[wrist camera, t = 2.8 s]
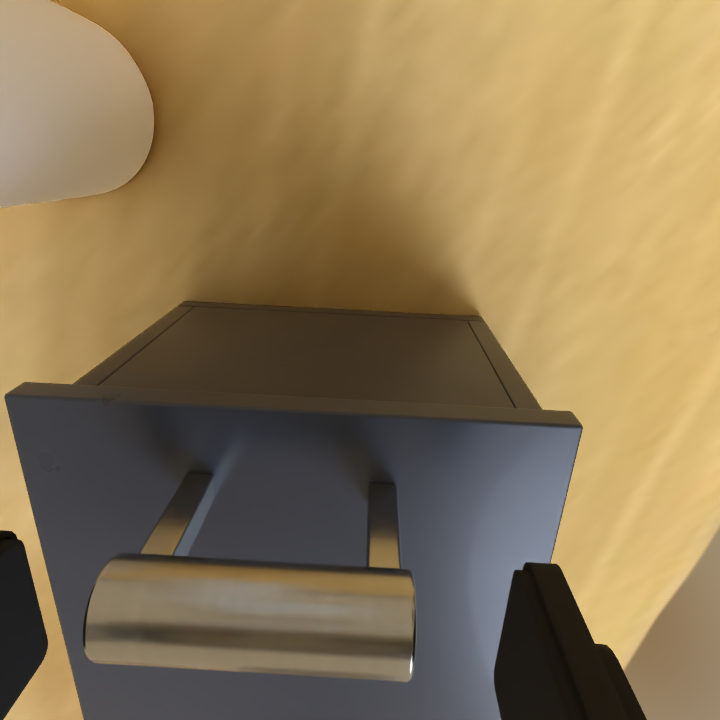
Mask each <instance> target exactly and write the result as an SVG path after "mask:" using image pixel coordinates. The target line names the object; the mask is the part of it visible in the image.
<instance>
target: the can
mask: <svg viewBox="0 0 720 720" xmlns="http://www.w3.org/2000/svg"><path fill="white" fill-rule="evenodd" d="M153 132H154V109H153V102H152V98H151V95H150V92H149V89H148V86H147V84H146V82H145V79H144V77H143V75H142V73H141V71H140V70H139V68H138V66H137V65H136V63H135V61H134V60H133V58H132V57H131V56H130V54H129V53H128V51H127V50H126V49H125V48H124V46H123V45H122V44H121V43H120V42H119V41H118V40H117V39H116V38H115V37H114V36H112V35H111V34H110V33H109V32H107V31H106V30H105V29H103V28H102V27H100V26H99V25H97V24H96V23H94V22H92V21H90V20H88V19H86V18H85V17H83V16H81V15H79V14H77V13H75V12H73V11H71V10H69V9H67V8H65V7H63V6H60V5H58V4H56V3H54V2H52V1H50V0H0V208H6V207H13V206H21V205H28V204H35V203H43V202H50V201H58V200H65V199H72V198H79V197H86V196H92V195H98V194H103V193H106V192H110V191H112V190H115V189H117V188H119V187H121V186H122V185H124V184H126V183H127V182H128V181H129V180H131V179H132V178H133V177H134V176H135V175H136V174H137V172H138V171H139V170H140V168H141V167H142V165H143V164H144V162H145V160H146V158H147V156H148V153H149V151H150V147H151V144H152V139H153Z"/></svg>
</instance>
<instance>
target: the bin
mask: <svg viewBox="0 0 720 720" xmlns="http://www.w3.org/2000/svg"><path fill="white" fill-rule="evenodd" d="M72 385H90V386H109V387H127V388H146V389H164V390H183V391H202V392H220V393H239V394H257V395H276V396H294V397H313V398H331V399H350V400H369V401H387V402H406V403H424V404H443V405H461V406H480V407H499V408H517V409H536V410H542V408H541V407H540V405H539V404H538V402H537V401H536V399H535V398H534V396H533V394H532V393H531V391H530V390H529V388H528V387H527V385H526V384H525V382H524V381H523V379H522V378H521V376H520V375H519V373H518V372H517V370H516V368H515V367H514V365H513V364H512V362H511V361H510V359H509V358H508V356H507V355H506V353H505V352H504V350H503V349H502V347H501V346H500V344H499V343H498V341H497V339H496V338H495V336H494V335H493V333H492V332H491V330H490V329H489V327H488V326H487V324H486V323H485V322H484V320H483V318H482V317H480V316H462V315H442V314H423V313H403V312H384V311H365V310H345V309H326V308H306V307H287V306H268V305H248V304H229V303H209V302H190V301H184V302H182V303H181V304H180V305H178V306H177V307H176V308H174V309H173V310H172V311H170V312H169V313H168V314H166V315H165V316H163V317H162V318H161V319H159V320H158V321H157V322H155V323H154V324H153V325H151V326H150V327H149V328H147V329H146V330H145V331H143V332H142V333H141V334H139V335H138V336H137V337H135V338H134V339H133V340H131V341H130V342H129V343H127V344H126V345H124V346H123V347H122V348H120V349H119V350H118V351H116V352H115V353H114V354H112V355H111V356H110V357H108V358H107V359H106V360H104V361H103V362H102V363H100V364H99V365H98V366H96V367H95V368H94V369H92V370H91V371H90V372H88V373H87V374H86V375H84V376H83V377H81V378H80V379H79V380H77V381H76V382H75V383H73V384H72Z"/></svg>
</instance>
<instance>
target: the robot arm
mask: <svg viewBox="0 0 720 720" xmlns="http://www.w3.org/2000/svg"><path fill="white" fill-rule="evenodd" d="M47 647H48V639H47V635H46V631H45V627H44V623H43V619H42V615H41V611H40V607H39V603H38V599H37V595H36V591H35V587H34V583H33V579H32V575H31V571H30V567H29V563H28V559H27V555H26V551H25V547H24V544H23V542H22V541H21V540H18V539H17V537H16V534H14V533H13V532H12V531H0V720H3V719H4V718H5V716H6V715H7V713H8V712H9V710H10V709H11V707H12V706H13V704H14V703H15V701H16V700H17V698H18V697H19V696H20V694H21V693H22V691H23V690H24V688H25V687H26V685H27V684H28V682H29V681H30V679H31V678H32V676H33V675H34V673H35V672H36V670H37V669H38V667H39V666H40V665H41V663H42V661H43V659H44V657H45V655H46V652H47ZM494 687H495V693H496V698H497V702H498V707H499V711H500V716H501V720H647V719H646V717H645V715H644V713H643V711H642V709H641V707H640V705H639V703H638V701H637V698H636V697H635V694H634V692H633V690H632V688H631V686H630V684H629V682H628V680H627V678H626V676H625V674H624V672H623V670H622V667H621V665H620V663H619V661H618V659H617V658H616V656H615V654H614V653H613V651H612V650H611V649H610V648H609V647H608V646H607V645H603V644H595V643H594V641H593V639H592V637H591V634H590V632H589V630H588V628H587V626H586V623H585V621H584V619H583V617H582V614H581V612H580V610H579V608H578V606H577V603H576V601H575V599H574V597H573V595H572V592H571V590H570V588H569V586H568V583H567V581H566V579H565V577H564V575H563V572H562V570H561V569H560V567H559V566H558V565H557V564H549V563H533V562H526V563H525V564H524V566H523V569H522V570H515V571H514V573H513V577H512V582H511V587H510V592H509V597H508V602H507V607H506V612H505V617H504V622H503V627H502V632H501V637H500V642H499V647H498V652H497V657H496V662H495V667H494Z"/></svg>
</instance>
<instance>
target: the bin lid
mask: <svg viewBox="0 0 720 720" xmlns="http://www.w3.org/2000/svg"><path fill="white" fill-rule="evenodd" d="M4 398H5V402H6V406H7V410H8V414H9V418H10V422H11V426H12V430H13V434H14V438H15V442H16V446H17V450H18V454H19V458H20V462H21V467H22V471H23V475H24V479H25V483H26V487H27V491H28V495H29V499H30V503H31V507H32V511H33V515H34V519H35V523H36V527H37V531H38V535H39V539H40V543H41V548H42V552H43V556H44V560H45V564H46V568H47V572H48V576H49V580H50V584H51V588H52V592H53V596H54V600H55V604H56V608H57V612H58V616H59V620H60V625H61V629H62V633H63V637H64V641H65V645H66V649H67V653H68V657H69V661H70V665H71V669H72V673H73V677H74V681H75V685H76V689H77V693H78V697H79V702H80V706H81V710H82V714H83V718H84V720H501V716H500V711H499V707H498V702H497V698H496V693H495V687H494V667H495V662H496V657H497V652H498V647H499V642H500V637H501V632H502V627H503V622H504V617H505V612H506V607H507V602H508V597H509V592H510V587H511V582H512V577H513V573H514V571H515V570H522V569H523V566H524V564H525V563H526V562H533V563H549V564H550V562H551V558H552V554H553V550H554V546H555V542H556V537H557V533H558V529H559V525H560V521H561V517H562V512H563V508H564V504H565V500H566V496H567V492H568V487H569V483H570V479H571V475H572V471H573V467H574V462H575V458H576V454H577V450H578V446H579V442H580V438H581V433H582V429H583V427H582V425H581V423H580V422H579V421H578V419H577V418H576V417H575V415H574V414H573V413H572V412H570V411H554V410H536V409H517V408H499V407H480V406H461V405H443V404H424V403H406V402H387V401H369V400H350V399H331V398H313V397H294V396H276V395H257V394H239V393H220V392H202V391H183V390H164V389H146V388H127V387H109V386H90V385H72V384H53V383H34V382H24V383H22V384H21V385H19V386H18V387H16V388H14V389H13V390H11V391H10V392H8V393H7V394H5V397H4Z"/></svg>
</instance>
